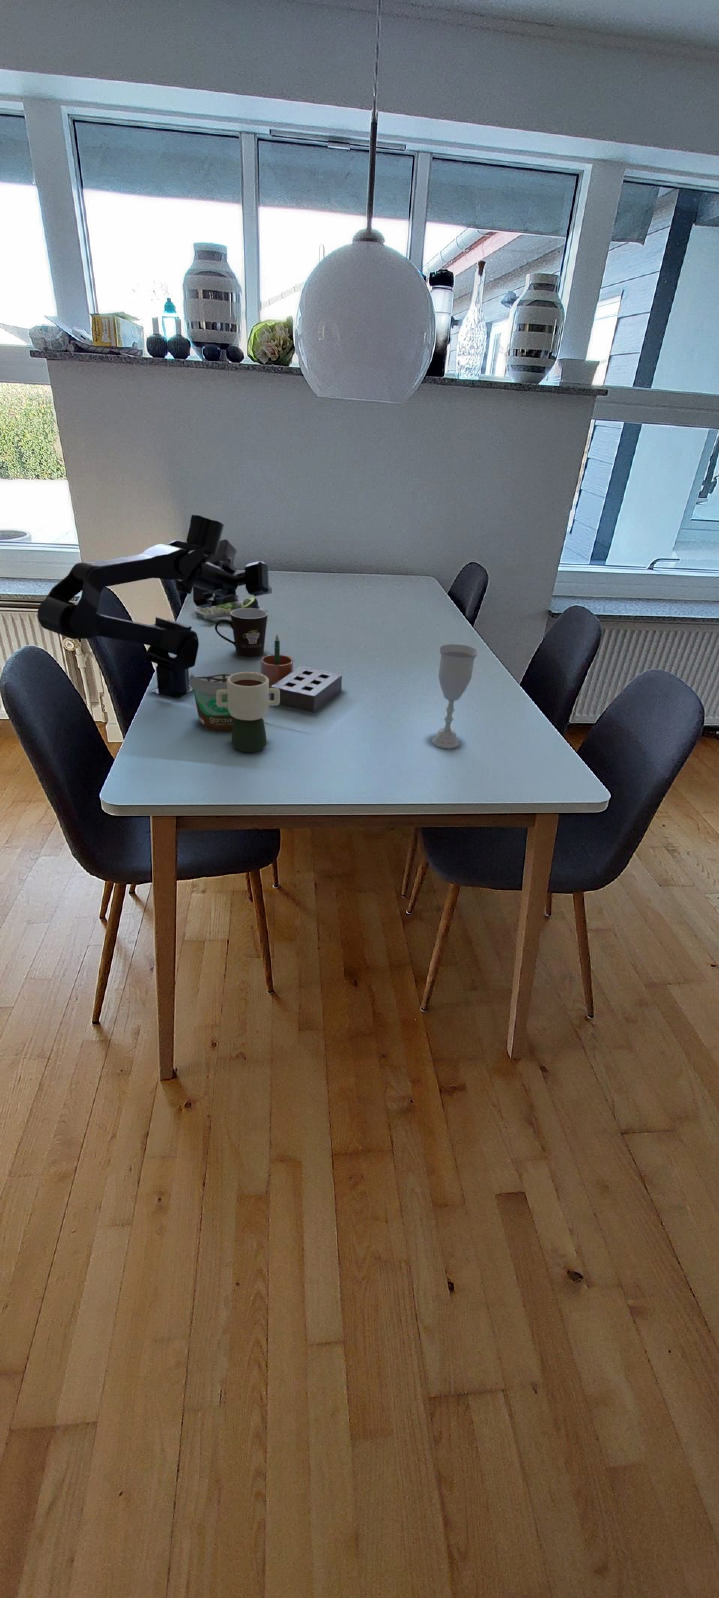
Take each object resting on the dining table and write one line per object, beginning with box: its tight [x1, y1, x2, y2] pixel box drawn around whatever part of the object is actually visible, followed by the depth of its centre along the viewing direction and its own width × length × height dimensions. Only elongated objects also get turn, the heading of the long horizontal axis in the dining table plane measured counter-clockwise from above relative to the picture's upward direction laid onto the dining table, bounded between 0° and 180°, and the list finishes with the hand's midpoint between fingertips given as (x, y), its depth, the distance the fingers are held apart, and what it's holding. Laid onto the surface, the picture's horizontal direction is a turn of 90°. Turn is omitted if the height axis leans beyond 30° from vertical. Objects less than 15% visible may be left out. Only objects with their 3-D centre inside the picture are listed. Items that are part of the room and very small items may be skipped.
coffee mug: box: [214, 608, 269, 658], centre depth 162 cm, size 12×9×10 cm
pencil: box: [274, 633, 281, 665], centre depth 148 cm, size 1×1×10 cm
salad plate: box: [194, 596, 269, 623], centre depth 189 cm, size 19×18×5 cm
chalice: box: [432, 643, 479, 749], centre depth 126 cm, size 7×7×18 cm
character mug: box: [216, 671, 280, 753], centre depth 120 cm, size 11×7×13 cm, turn 104°
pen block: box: [270, 665, 343, 714], centre depth 143 cm, size 10×14×4 cm
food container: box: [189, 670, 254, 733], centre depth 127 cm, size 12×6×10 cm, turn 105°
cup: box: [260, 654, 294, 687], centre depth 149 cm, size 7×7×5 cm
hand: (254, 594), depth 153 cm, fingers open, 9 cm apart
